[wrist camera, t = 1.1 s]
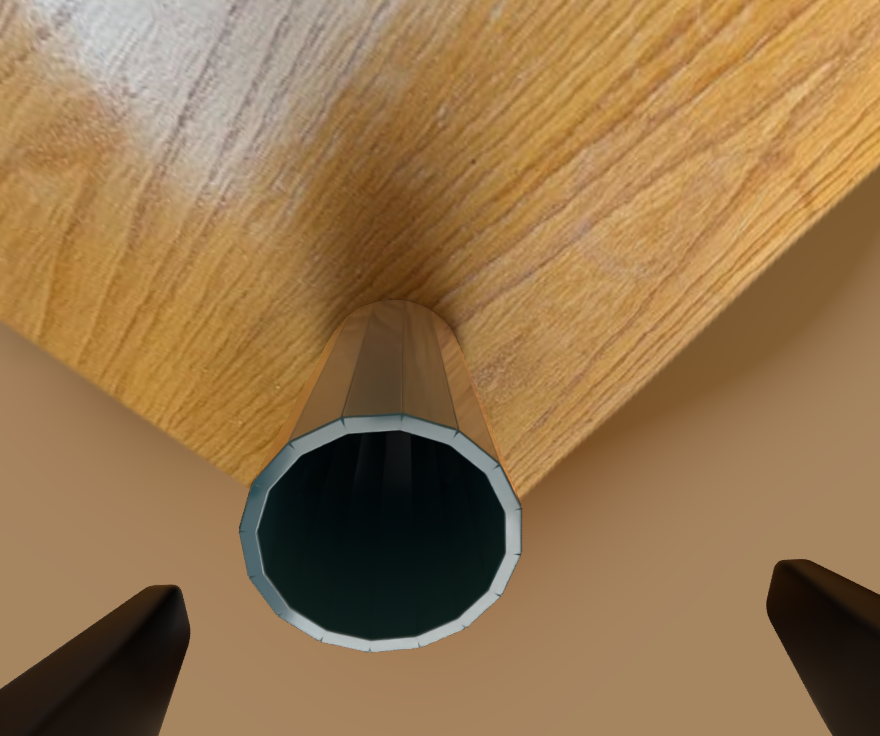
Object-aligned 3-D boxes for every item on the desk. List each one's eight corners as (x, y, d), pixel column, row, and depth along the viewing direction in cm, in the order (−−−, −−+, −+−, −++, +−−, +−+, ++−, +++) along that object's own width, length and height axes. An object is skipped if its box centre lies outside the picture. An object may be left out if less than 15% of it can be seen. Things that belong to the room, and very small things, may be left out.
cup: (310, 405, 20) (212, 619, 10) (348, 279, 19) (281, 375, 9) (435, 442, 21) (465, 674, 11) (481, 324, 20) (565, 462, 9)
